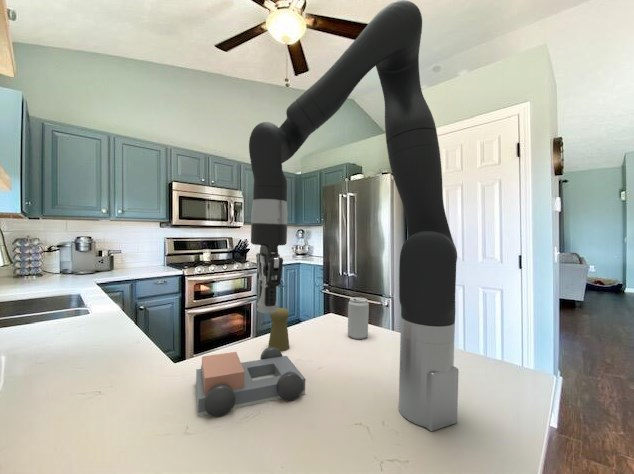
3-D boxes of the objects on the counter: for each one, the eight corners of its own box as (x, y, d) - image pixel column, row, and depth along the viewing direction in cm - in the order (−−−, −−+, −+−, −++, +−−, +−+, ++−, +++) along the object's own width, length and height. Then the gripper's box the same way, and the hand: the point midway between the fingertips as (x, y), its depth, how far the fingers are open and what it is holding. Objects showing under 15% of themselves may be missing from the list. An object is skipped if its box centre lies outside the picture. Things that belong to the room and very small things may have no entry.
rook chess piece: (279, 308, 64) (280, 272, 64) (274, 314, 60) (275, 275, 60) (260, 307, 65) (261, 271, 65) (253, 313, 60) (254, 274, 60)
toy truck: (308, 397, 58) (308, 367, 58) (198, 421, 50) (199, 386, 50) (284, 365, 72) (284, 340, 72) (195, 380, 64) (196, 352, 64)
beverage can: (343, 334, 95) (344, 297, 95) (360, 332, 98) (361, 296, 98) (354, 341, 89) (355, 301, 89) (371, 338, 92) (372, 300, 92)
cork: (278, 353, 79) (279, 312, 79) (263, 347, 82) (264, 308, 82) (293, 347, 84) (294, 308, 83) (278, 341, 87) (279, 304, 87)
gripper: (297, 222, 57) (294, 310, 57) (277, 223, 70) (275, 295, 70) (258, 220, 54) (256, 313, 54) (245, 222, 67) (243, 297, 67)
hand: (267, 302), depth 62 cm, fingers closed on rook chess piece, 4 cm apart
